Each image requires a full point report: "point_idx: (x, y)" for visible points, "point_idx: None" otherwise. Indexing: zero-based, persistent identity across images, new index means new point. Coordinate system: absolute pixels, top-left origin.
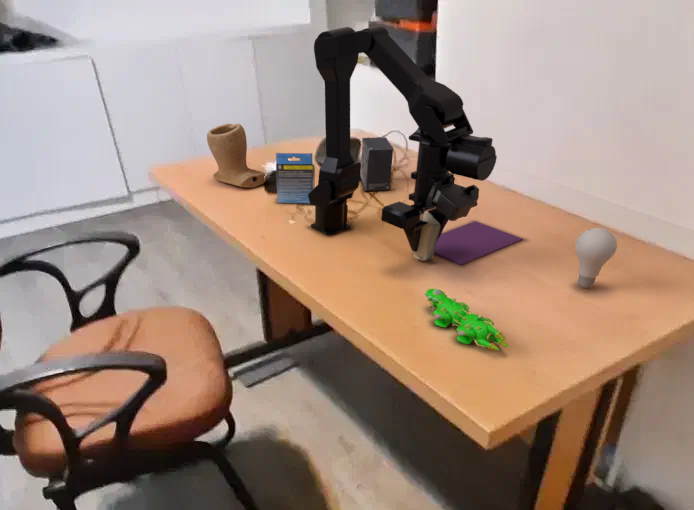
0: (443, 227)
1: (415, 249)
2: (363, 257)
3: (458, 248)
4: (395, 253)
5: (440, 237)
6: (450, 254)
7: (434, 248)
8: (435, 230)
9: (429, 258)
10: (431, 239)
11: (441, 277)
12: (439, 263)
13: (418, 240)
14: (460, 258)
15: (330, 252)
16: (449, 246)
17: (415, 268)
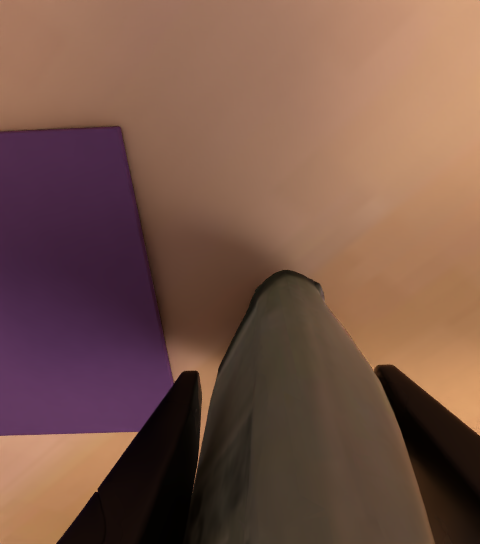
0: (98, 506)
1: (405, 379)
2: None
3: (3, 301)
4: None
5: (31, 417)
6: (96, 274)
7: (286, 320)
8: (379, 531)
9: (303, 281)
10: (364, 407)
11: (384, 67)
12: (224, 238)
13: (461, 448)
14: (69, 199)
15: None
16: (41, 341)
17: (384, 271)
